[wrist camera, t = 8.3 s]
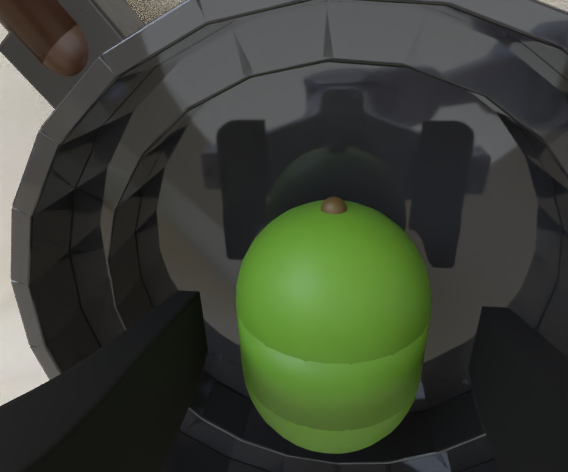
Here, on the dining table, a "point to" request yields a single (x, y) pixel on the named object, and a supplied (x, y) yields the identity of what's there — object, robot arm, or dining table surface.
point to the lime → (333, 324)
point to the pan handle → (61, 39)
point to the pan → (304, 193)
